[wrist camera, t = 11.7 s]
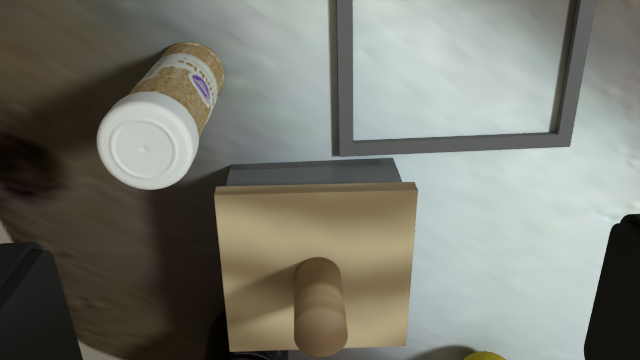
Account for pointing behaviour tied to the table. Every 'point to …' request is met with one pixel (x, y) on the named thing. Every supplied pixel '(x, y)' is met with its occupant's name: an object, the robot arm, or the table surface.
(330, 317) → the lid
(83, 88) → the table surface
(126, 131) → the sprinkles bottle
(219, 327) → the supplement bottle
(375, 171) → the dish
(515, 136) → the picture frame
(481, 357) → the lemon
